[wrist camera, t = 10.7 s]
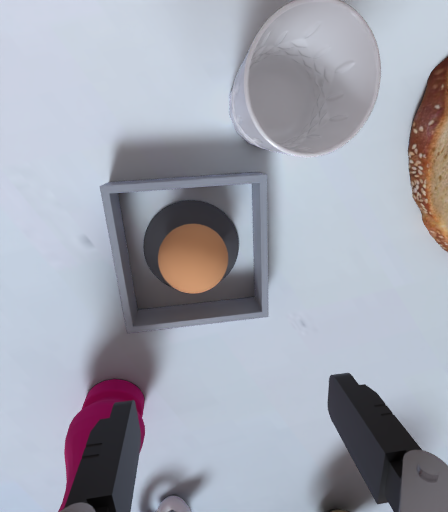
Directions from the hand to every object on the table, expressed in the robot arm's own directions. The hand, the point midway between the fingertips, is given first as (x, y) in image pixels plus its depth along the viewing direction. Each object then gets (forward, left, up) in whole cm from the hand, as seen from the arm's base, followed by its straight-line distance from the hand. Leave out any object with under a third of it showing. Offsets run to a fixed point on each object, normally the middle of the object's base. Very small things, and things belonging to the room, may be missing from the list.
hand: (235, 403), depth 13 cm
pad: (+1, -1, -19) cm, 19 cm away
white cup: (-6, -13, -19) cm, 24 cm away
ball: (+1, -1, -15) cm, 15 cm away
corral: (+1, -1, -19) cm, 19 cm away
